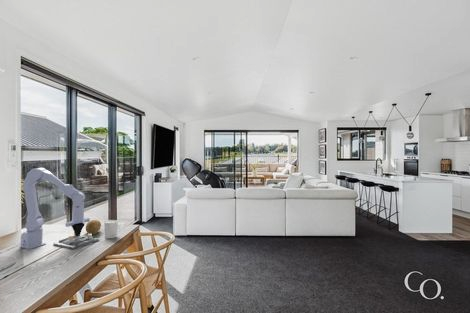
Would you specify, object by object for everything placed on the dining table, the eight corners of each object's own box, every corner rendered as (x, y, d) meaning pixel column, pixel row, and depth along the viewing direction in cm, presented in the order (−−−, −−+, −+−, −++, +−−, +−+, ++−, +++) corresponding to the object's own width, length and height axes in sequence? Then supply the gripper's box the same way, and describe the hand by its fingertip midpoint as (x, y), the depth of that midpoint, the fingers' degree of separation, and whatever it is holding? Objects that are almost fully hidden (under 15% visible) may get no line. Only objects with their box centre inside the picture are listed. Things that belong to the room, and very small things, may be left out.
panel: (73, 249, 151) (74, 240, 151) (53, 245, 156) (53, 236, 156) (98, 240, 167) (99, 232, 167) (79, 237, 172) (79, 229, 172)
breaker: (69, 243, 156) (70, 237, 156) (66, 243, 157) (66, 236, 157) (74, 242, 159) (74, 235, 159) (71, 241, 160) (71, 235, 160)
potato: (102, 229, 190) (102, 216, 190) (98, 236, 175) (98, 222, 175) (88, 230, 187) (88, 216, 187) (83, 237, 172) (83, 222, 172)
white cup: (114, 234, 180) (115, 219, 180) (119, 237, 174) (120, 221, 174) (102, 236, 175) (102, 221, 174) (106, 239, 169) (107, 223, 169)
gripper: (72, 216, 154) (71, 240, 154) (93, 211, 167) (92, 233, 167) (63, 214, 156) (62, 238, 156) (85, 210, 170) (84, 232, 170)
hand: (77, 236), depth 162 cm, fingers closed
